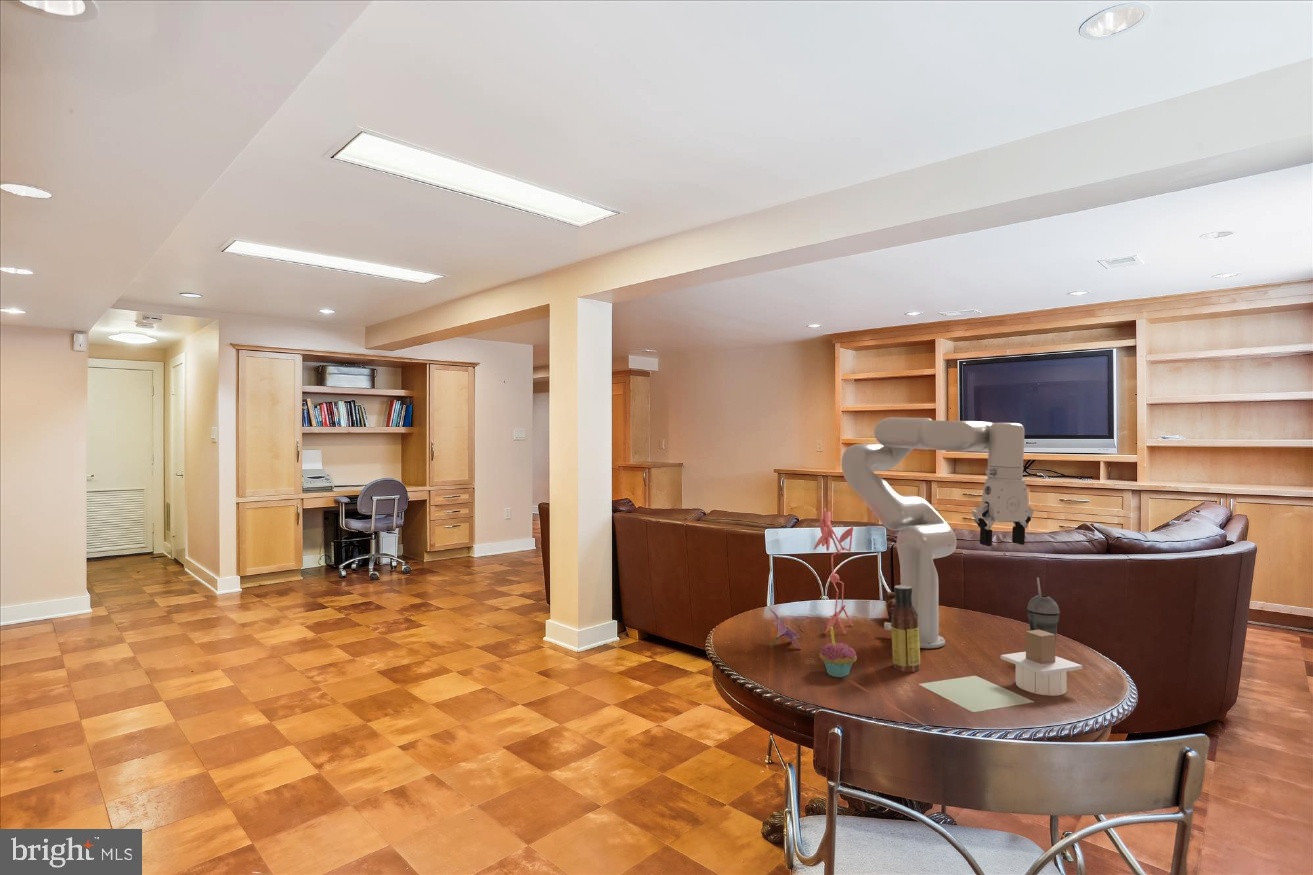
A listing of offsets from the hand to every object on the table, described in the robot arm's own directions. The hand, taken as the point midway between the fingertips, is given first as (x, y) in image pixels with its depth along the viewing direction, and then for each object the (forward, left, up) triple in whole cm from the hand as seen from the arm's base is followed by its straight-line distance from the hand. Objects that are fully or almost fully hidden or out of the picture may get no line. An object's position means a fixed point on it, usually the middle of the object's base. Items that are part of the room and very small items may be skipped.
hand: (1002, 544), depth 159 cm
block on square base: (+7, -12, -24) cm, 28 cm away
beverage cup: (+9, +12, -30) cm, 33 cm away
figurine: (-46, +15, -30) cm, 57 cm away
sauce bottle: (-21, -12, -30) cm, 38 cm away
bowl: (+7, -12, -30) cm, 33 cm away
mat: (-6, -22, -30) cm, 37 cm away
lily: (-51, -8, -30) cm, 60 cm away
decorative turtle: (-26, +31, -30) cm, 50 cm away
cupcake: (-35, -22, -30) cm, 51 cm away
